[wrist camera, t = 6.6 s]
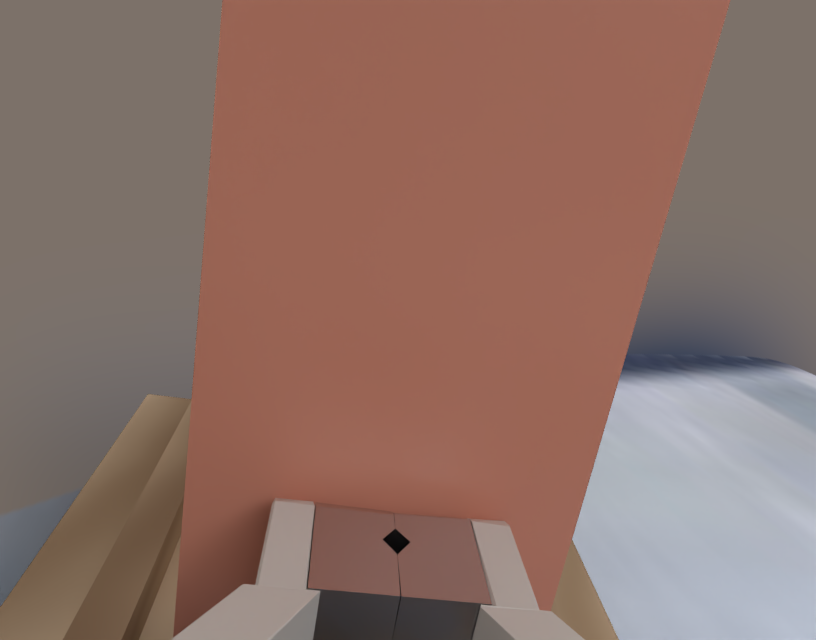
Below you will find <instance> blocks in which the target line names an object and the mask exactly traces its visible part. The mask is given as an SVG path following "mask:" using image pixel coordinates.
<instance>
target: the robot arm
mask: <svg viewBox="0 0 816 640" xmlns="http://www.w3.org/2000/svg"><path fill="white" fill-rule="evenodd" d="M314 508H315V509H314ZM171 640H585V639H583V638H582V637H581V636H580V635H579V634H578V633H576V632H575V631H574V630H573V629H572V628H570V627H569V626H568V625H567V624H566V623H565V622H563V621H562V620H561V619H560V618H559V617H557V616H556V615H555V614H554V613H553V612H552V611H544V610H539V607H538V604H537V601H536V598H535V595H534V593H533V590H532V587H531V584H530V581H529V579H528V576H527V573H526V570H525V567H524V564H523V562H522V559H521V556H520V553H519V550H518V548H517V545H516V542H515V539H514V536H513V534H512V531H511V528H510V525H509V524H507V523H506V522H505V521H497V520H483V519H460V518H448V517H436V516H425V515H413V514H401V513H393V512H391V511H383V510H375V509H367V508H359V507H351V506H343V505H335V504H327V503H319V502H316V504H315V505H314V503H313V501H303V500H293V499H283V498H275V499H274V501H273V503H272V506H271V511H270V516H269V521H268V526H267V530H266V535H265V540H264V545H263V550H262V554H261V559H260V564H259V569H258V573H257V578H256V583H255V585H251V584H242V585H241V586H239V587H238V588H237V589H235V590H234V591H233V592H232V593H230V594H229V595H228V596H226V597H225V598H224V599H222V600H221V601H220V602H219V603H217V604H216V605H215V606H213V607H212V608H211V609H210V610H208V611H207V612H206V613H204V614H203V615H202V616H200V617H199V618H198V619H197V620H195V621H194V622H193V623H191V624H190V625H189V626H188V627H186V628H185V629H184V630H182V631H181V632H180V633H179V634H177V635H176V636H175V637H173V638H172V639H171Z"/></svg>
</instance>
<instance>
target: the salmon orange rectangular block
mask: <svg viewBox="0 0 816 640" xmlns="http://www.w3.org/2000/svg"><path fill="white" fill-rule="evenodd" d="M729 3H730V0H223V1H222V15H221V27H220V41H219V53H218V66H217V79H216V91H215V104H214V118H213V131H212V143H211V156H210V169H209V181H208V194H207V207H206V220H205V233H204V247H203V259H202V272H201V286H200V297H199V298H200V299H199V311H198V324H197V337H196V349H195V362H194V375H193V387H192V400H191V413H190V426H189V439H188V452H187V465H186V478H185V490H184V503H183V516H182V529H181V542H180V555H179V568H178V581H177V593H176V606H175V619H174V632H173V637H175V636H176V635H177V634H179V633H180V632H181V631H182V630H184V629H185V628H186V627H188V626H189V625H190V624H191V623H193V622H194V621H195V620H197V619H198V618H199V617H200V616H202V615H203V614H204V613H206V612H207V611H208V610H210V609H211V608H212V607H213V606H215V605H216V604H217V603H219V602H220V601H221V600H222V599H224V598H225V597H226V596H228V595H229V594H230V593H232V592H233V591H234V590H235V589H237V588H238V587H239V586H241V585H242V584H251V585H255V583H256V578H257V573H258V569H259V564H260V559H261V554H262V550H263V545H264V540H265V535H266V530H267V526H268V521H269V516H270V511H271V506H272V503H273V501H274V499H275V498H283V499H293V500H303V501H313V503H314V505H315V504H316V502H319V503H327V504H335V505H343V506H351V507H359V508H367V509H375V510H383V511H391V512H393V513H401V514H413V515H425V516H436V517H448V518H460V519H483V520H497V521H505V522H506V523H507V524H509V525H510V528H511V531H512V534H513V536H514V539H515V542H516V545H517V548H518V550H519V553H520V556H521V559H522V562H523V564H524V567H525V570H526V573H527V576H528V579H529V581H530V584H531V587H532V590H533V593H534V595H535V598H536V601H537V604H538V607H539V610H544V611H551V608H552V605H553V602H554V598H555V595H556V591H557V588H558V585H559V581H560V578H561V574H562V571H563V568H564V564H565V561H566V557H567V554H568V551H569V547H570V544H571V540H572V537H573V534H574V530H575V527H576V523H577V520H578V517H579V513H580V510H581V506H582V503H583V500H584V496H585V493H586V489H587V486H588V483H589V479H590V476H591V472H592V469H593V466H594V462H595V459H596V455H597V452H598V449H599V445H600V442H601V438H602V435H603V432H604V428H605V425H606V421H607V418H608V415H609V411H610V408H611V404H612V401H613V398H614V394H615V391H616V388H617V384H618V381H619V377H620V374H621V371H622V367H623V364H624V360H625V357H626V354H627V350H628V346H629V343H630V340H631V337H632V333H633V330H634V326H635V323H636V320H637V316H638V313H639V309H640V306H641V303H642V299H643V296H644V292H645V289H646V286H647V282H648V278H649V275H650V272H651V269H652V265H653V262H654V258H655V255H656V251H657V248H658V245H659V241H660V238H661V235H662V231H663V228H664V224H665V221H666V218H667V214H668V211H669V207H670V204H671V201H672V197H673V194H674V190H675V187H676V183H677V180H678V176H679V173H680V170H681V167H682V163H683V160H684V156H685V153H686V149H687V146H688V143H689V139H690V136H691V132H692V129H693V126H694V122H695V119H696V116H697V112H698V109H699V105H700V102H701V98H702V95H703V92H704V88H705V85H706V82H707V78H708V75H709V71H710V68H711V65H712V61H713V58H714V54H715V51H716V48H717V44H718V41H719V37H720V34H721V31H722V27H723V24H724V20H725V17H726V13H727V10H728V7H729ZM314 509H315V508H314Z"/></svg>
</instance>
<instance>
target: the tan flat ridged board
mask: <svg viewBox="0 0 816 640" xmlns="http://www.w3.org/2000/svg"><path fill="white" fill-rule="evenodd" d="M191 400H192V399H185V398H176V397H169V396H160V395H152V394H148V395H147V396H146V398H145V399H144V401H143V402H142V403H141V405H140V407H139V408H138V409H137V411H136V412H135V414H134V415H133V417H132V418H131V419H130V421H129V422H128V424H127V425H126V427H125V428H124V429H123V431H122V432H121V434H120V435H119V437H118V438H117V440H116V441H115V442H114V444H113V446H112V447H111V448H110V450H109V451H108V453H107V454H106V455H105V457H104V459H103V460H102V461H101V463H100V464H99V466H98V467H97V468H96V470H95V471H94V473H93V474H92V476H91V477H90V479H89V480H88V481H87V483H86V484H85V486H84V487H83V489H82V490H81V492H80V493H79V494H78V496H77V497H76V499H75V500H74V502H73V503H72V505H71V506H70V507H69V509H68V510H67V512H66V513H65V515H64V516H63V518H62V519H61V520H60V522H59V523H58V525H57V526H56V528H55V529H54V531H53V532H52V533H51V535H50V536H49V538H48V539H47V541H46V542H45V544H44V545H43V546H42V548H41V549H40V551H39V552H38V554H37V555H36V557H35V558H34V559H33V561H32V562H31V564H30V565H29V567H28V568H27V570H26V571H25V572H24V574H23V575H22V577H21V578H20V580H19V581H18V583H17V584H16V585H15V587H14V588H13V590H12V591H11V593H10V594H9V596H8V597H7V598H6V600H5V601H4V603H3V604H2V606H1V607H0V640H171V639H172V638H173V632H174V619H175V606H176V593H177V581H178V568H179V555H180V542H181V529H182V516H183V503H184V490H185V478H186V465H187V452H188V439H189V426H190V413H191ZM551 611H552V612H553V613H554V614H555V615H556V616H557V617H559V618H560V619H561V620H562V621H563V622H565V623H566V624H567V625H568V626H569V627H570V628H572V629H573V630H574V631H575V632H576V633H578V634H579V635H580V636H581V637H582V638H583V639H585V640H619V639H618V637H617V635H616V633H615V631H614V629H613V626H612V624H611V622H610V620H609V618H608V616H607V614H606V612H605V609H604V607H603V605H602V603H601V601H600V599H599V597H598V594H597V592H596V590H595V588H594V586H593V584H592V582H591V579H590V577H589V575H588V573H587V571H586V569H585V567H584V564H583V562H582V560H581V558H580V556H579V554H578V552H577V549H576V547H575V545H574V543H573V541H572V540H571V544H570V547H569V551H568V554H567V557H566V561H565V564H564V568H563V571H562V574H561V578H560V581H559V585H558V588H557V591H556V595H555V598H554V602H553V605H552V608H551Z"/></svg>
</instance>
